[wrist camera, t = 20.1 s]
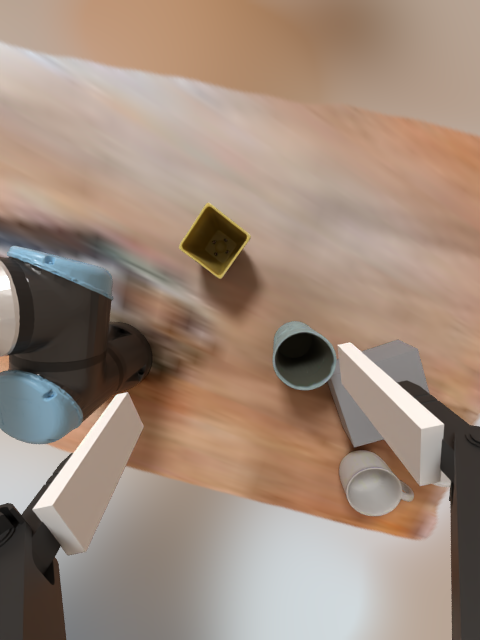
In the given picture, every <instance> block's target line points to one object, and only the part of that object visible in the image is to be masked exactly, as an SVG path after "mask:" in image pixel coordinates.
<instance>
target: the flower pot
mask: <svg viewBox="0 0 480 640" xmlns="http://www.w3.org/2000/svg"><path fill="white" fill-rule="evenodd" d="M250 238H251V236H250V234H249V233H248V232H246V231H245V230H244V229H242V228H241V227H240V226H238V225H237V224H236V223H235V222H233V221H232V220H231V219H230V218H228V217H227V216H226V215H224V214H223V213H222V212H221V211H219V210H218V209H217V208H216V207H214V206H213V205H212V204H210V203H207V204H206V205H205V206H204V208H203V209H202V211H201V212H200V214H199V216H198V217H197V219H196V220H195V222H194V223H193V225H192V226H191V228H190V230H189V231H188V233H187V234H186V236H185V237H184V238H183V240H182V241H181V243H180V245H179V249H180V250H181V251H182V252H184V253H185V254H187V255H188V256H189V257H191V258H192V259H194V260H195V261H196V262H198V263H199V264H200V265H202V266H203V267H204V268H205V269H207V270H208V271H209V272H211V273H212V274H213V275H214V276H216V277H217V278H218V279H222V278H223V276H224V275H225V273H226V272H227V270H228V269H229V268H230V266H231V265H232V263H233V262H234V261H235V259H236V258H237V256H238V255H239V254H240V252H241V251H242V249H243V248H244V247H245V245H246V244H247V243H248V241H249V240H250ZM224 239H227V241H226V242H225V241H224ZM213 241H216V243H215V244H214V243H213ZM226 251H229V253H228V254H227V253H226ZM216 252H217V253H218V254H217V255H215V253H216Z"/></svg>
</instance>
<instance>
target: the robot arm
mask: <svg viewBox="0 0 480 640" xmlns="http://www.w3.org/2000/svg"><path fill="white" fill-rule="evenodd" d="M7 256H9V258H3V257H0V356H7V355H9V370H8V371H3V372H1V373H0V428H1V429H2V431H4V432H5V433H6V434H8V435H9V436H11V437H13V438H15V439H17V440H20V441H23V442H26V443H31V444H47V443H51V442H55V441H57V440H59V439H61V438H62V437H64V436H65V435H66V434H68V433H69V432H70V431H72V430H73V429H75V428H77V427H79V426H80V425H81V423H82V422H83V421H84V420H85V419H86V418H88V417H89V416H90V415H91V414H92V413H93V412H94V411H95V410H96V409H98V408H99V407H100V406H101V405H102V404H103V403H104V402H105V401H107V400H108V399H109V398H110V397H111V396H112V395H113V394H115V393H118V392H121V391H125V390H128V389H130V388H132V387H134V386H136V385H137V384H138V383H140V382H141V381H142V380H143V379H144V378H145V377H146V375H147V374H148V372H149V370H150V368H151V364H152V353H151V348H150V346H149V343H148V342H147V340H146V338H145V337H144V336H143V335H142V334H141V333H140V332H139V331H138V330H137V329H135V328H134V327H132V326H130V325H128V324H125V323H121V322H109V321H110V310H111V300H113V296H112V276H111V274H110V273H109V272H108V271H107V270H105V269H104V268H101V267H98V266H94V265H91V264H87V263H83V262H79V261H76V260H72V259H68V258H64V257H60V256H56V255H52V254H48V253H44V252H40V251H36V250H31V249H27V248H22V247H18V246H12V247H11V248H10V250H9V252H7ZM338 354H339V363H340V373H341V382H342V385H343V386H344V387H345V389H346V390H347V391H348V392H349V394H350V395H351V396H352V398H353V399H354V400H355V402H356V403H357V404H358V406H359V407H360V408H361V410H362V411H363V412H364V413H365V415H366V416H367V417H368V419H369V420H370V421H371V423H372V424H373V425H374V427H375V428H376V429H377V431H378V432H379V433H380V434H381V436H382V437H383V438H384V440H385V441H386V442H387V444H388V445H389V446H390V448H391V449H392V450H393V452H394V453H395V454H396V456H397V457H398V458H399V459H400V461H401V462H402V463H403V465H404V466H405V467H406V469H407V470H408V471H409V473H410V474H411V475H412V477H413V478H414V479H415V480H416V482H417V483H418V484H419V486H423V485H428V484H433V483H438V482H441V471H442V472H443V473H444V474H445V475H446V476H447V477H448V478H449V479H450V480H451V484H450V497H449V501H451V580H452V581H451V584H452V640H480V427H479V426H471V425H469V424H468V423H466V422H465V421H464V420H463V419H461V418H460V417H459V416H458V415H456V414H455V413H454V412H452V411H451V410H450V409H449V408H447V407H446V406H445V405H443V404H442V403H441V402H440V401H437V399H436V398H435V397H433V396H432V395H430V394H429V393H428V392H427V391H426V390H424V389H423V388H422V387H421V386H419V385H417V384H414V383H412V382H410V381H408V380H406V381H401V382H395V381H394V380H393V379H392V378H391V377H389V376H388V375H387V374H386V373H385V372H384V371H383V370H381V369H380V368H379V367H378V366H377V365H376V364H375V363H373V362H372V361H371V360H370V359H369V358H368V357H367V356H365V355H364V354H363V353H362V352H361V351H360V350H359V349H357V348H356V347H355V346H354V345H353V344H352V343H351V342H349V343H345V344H340V345H338ZM143 427H144V426H143V423H142V421H141V419H140V417H139V415H138V413H137V410H136V408H135V406H134V404H133V402H132V400H131V397H130V395H129V393H128V392H126V393H122V394H117V395H116V396H115V397H114V398H113V400H112V401H111V403H110V404H109V405H108V407H107V408H106V409H105V411H104V412H103V413H102V415H101V416H100V418H99V419H98V420H97V422H96V423H95V424H94V426H93V427H92V429H91V430H90V431H89V433H88V434H87V435H86V437H85V438H84V439H83V441H82V442H81V444H80V445H79V446H78V448H77V449H76V450H75V452H74V453H71V454H70V455H69V456H68V457H67V458H66V459H65V460H64V461H62V462H61V463H60V465H59V466H58V467H57V469H56V470H55V471H54V473H53V475H52V476H51V477H50V478H49V479H48V481H47V482H46V485H44V486H43V487H42V489H41V490H40V491H39V492H38V494H37V495H36V497H35V498H34V499H33V501H32V502H31V503H30V505H29V506H28V507H27V509H26V510H25V511H24V512H23V514H22V515H21V514H20V513H19V512H18V511H17V509H16V508H15V507H14V506H13V504H9V503H7V504H3V505H0V640H66V633H65V623H64V613H63V603H62V593H61V585H60V574H59V564H58V561H57V559H56V558H55V555H56V553H57V552H58V550H59V548H60V546H61V547H62V549H63V550H64V551H65V553H66V554H67V555H72V554H78V553H83V552H86V551H87V549H88V546H89V544H90V542H91V540H92V538H93V535H94V533H95V531H96V529H97V527H98V525H99V523H100V520H101V518H102V516H103V514H104V512H105V510H106V507H107V505H108V503H109V501H110V499H111V497H112V494H113V492H114V490H115V488H116V486H117V484H118V481H119V479H120V477H121V475H122V473H123V471H124V469H125V466H126V464H127V462H128V460H129V458H130V456H131V453H132V451H133V449H134V447H135V445H136V443H137V440H138V438H139V436H140V434H141V432H142V430H143Z"/></svg>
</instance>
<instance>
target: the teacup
mask: <svg viewBox="0 0 480 640" xmlns="http://www.w3.org/2000/svg"><path fill="white" fill-rule="evenodd" d="M339 476H340V480H341V483H342V486H343V488H344V491H345V493H346V497H347V500H348V502H349V503H350V505H351V506H352V507H353V508H354V509H355V510H356V511H358V512H359V513H361V514H364V515H367V516H381V515H384V514H387V513H389V512H391V511H392V510H393V509H394V508H395V507H396V506H397V505H398V503H399V502H400V500H401V499H402V500H404V501H408V502H409V501H412V500H413V498H414V493H413V491H412V489H411V488H410V487H409V486H408V485H407V484H405V483H404V482H402V481H401V480H399V479H398V478H397V476H396V475H395V474H394V473H393V472H392V471H391V469H390V468H389V467H388V465H387V464H386V463H385V462H384V461H383V460H382V459H381V458H380V457H379V456H378V455H376V454H375V453H373V452H370V451H366V450H357V451H353V452H351V453H349V454H348V455H346V456H345V457H344V458H343V460H342V461H341V463H340V467H339ZM402 490H403V491H405V492H406V493H405V492H403V491H402Z"/></svg>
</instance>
